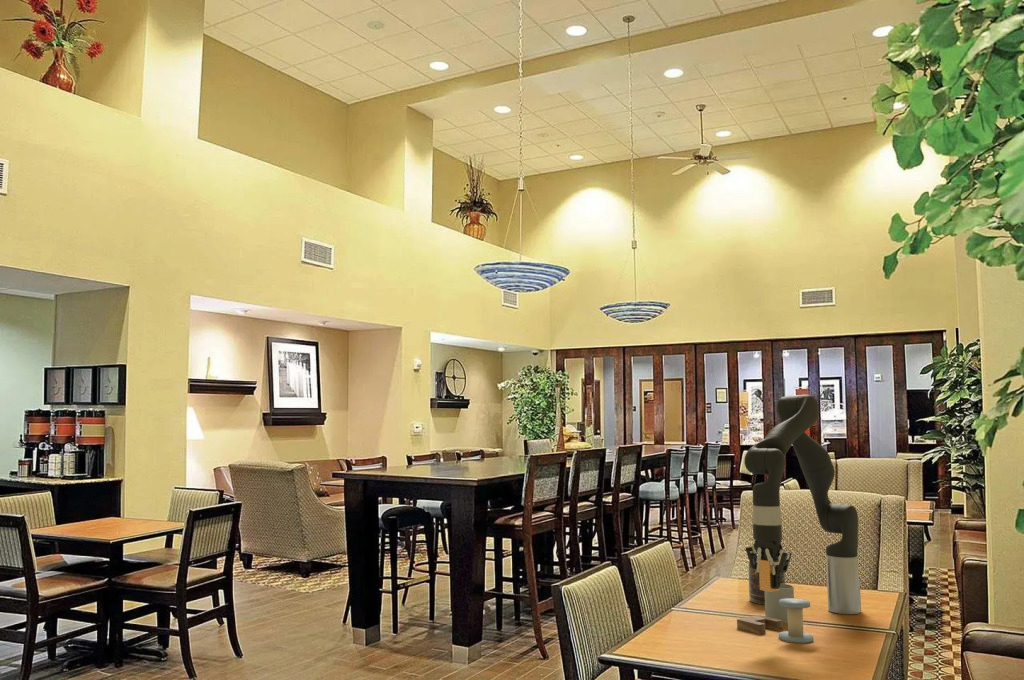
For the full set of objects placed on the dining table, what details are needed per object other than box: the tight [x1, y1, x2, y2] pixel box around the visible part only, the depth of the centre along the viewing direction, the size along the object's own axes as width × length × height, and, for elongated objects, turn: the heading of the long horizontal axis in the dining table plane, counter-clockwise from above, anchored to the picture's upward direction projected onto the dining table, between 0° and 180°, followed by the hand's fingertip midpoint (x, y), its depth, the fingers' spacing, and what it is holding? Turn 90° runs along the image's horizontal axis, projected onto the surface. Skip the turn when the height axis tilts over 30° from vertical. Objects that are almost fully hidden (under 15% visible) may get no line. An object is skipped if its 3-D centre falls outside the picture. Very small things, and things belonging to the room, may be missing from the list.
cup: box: [764, 583, 795, 624], centre depth 246 cm, size 8×8×10 cm
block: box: [759, 560, 779, 592], centre depth 220 cm, size 4×4×8 cm
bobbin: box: [778, 597, 814, 644], centre depth 224 cm, size 9×9×10 cm
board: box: [736, 614, 784, 635], centre depth 235 cm, size 10×8×2 cm
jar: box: [748, 560, 786, 606], centre depth 272 cm, size 12×12×15 cm
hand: (769, 587), depth 220 cm, fingers closed on block, 3 cm apart
